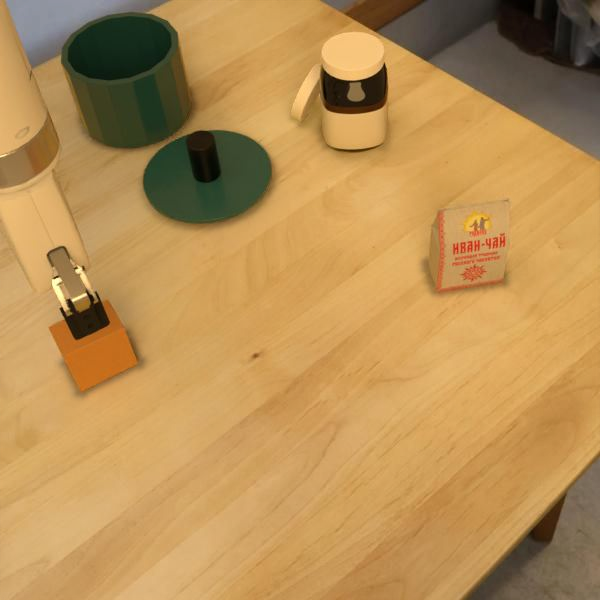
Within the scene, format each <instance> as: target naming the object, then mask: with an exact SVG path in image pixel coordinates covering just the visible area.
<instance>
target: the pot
mask: <svg viewBox="0 0 600 600" xmlns="http://www.w3.org/2000/svg"><path fill="white" fill-rule="evenodd" d="M179 37H180V36H179V33H178V31H177V30H176V28H175V27H174V26H173V25H172V24H171V22H169V20H167V19H165V18H163V17H160V16H157V15H155V14H153V13H148V12H147V13H146V12H136V11H127V12H119V13H113V14H107V15H103V16H101V17H99V18H96V19H93V20H91V21H88V22H86V23H85V24H83V25H82V26H81V27H79V28H78V29H76V30H75V31H74V32H72V33H71V34H70V35H69V36H68V38H67V39H66V41H65V42H64V44H63V45H62V47H61V51H60V52H61V55H60V64H61V68H62V70H63V72H64V76H65V79H66V82H67V84H68V87H69V90H70V93H71V96H72V98H73V101H74V105H75V107H76V111H77V113H78V115H79V119H80V121H81V123H82V125H83V127H84V129H85V132H87V134H88V135H89V137H91V138H92V139H93V140H94V141H96V142H98V143H99V144H101V145H105V146H108V147H112V148H117V149H136V148H143V147H147V146H152V145H154V144H156V143H160V142H162V141H164V140H166V139H168V138H169V137H171V136H173V135H174V134H176V133H177V132H178V131H179V130H180V129H181V128H182V127H183V126H184V125H185V124H186V122H187V121H188V119H189V117H190V115H191V111H192V109H193V108H192V107H193V105H192V104H193V102H192V97H191V90H190V85H189V81H188V75H187V70H186V65H185V61H184V57H183V52H182V47H181V41H180V38H179Z"/></svg>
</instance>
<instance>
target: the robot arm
mask: <svg viewBox="0 0 600 600" xmlns="http://www.w3.org/2000/svg"><path fill="white" fill-rule="evenodd" d="M58 135H59V134H58V132H57V129H56V127H55V125H54V121H53V119H52V116H51V114H50V112H49V109H48V107H47V104H46V103H45V100H44V97H43V95H42V92H41V89H40V86H39V85H38V81H37V79H36V76H35V74H34V72H33V69H32V66H31V64H30V61H29V59H28V56H27V54H26V51H25V48H24V46H23V43H22V40H21V37H20V35H19V33H18V30H17V28H16V24H15V22H14V20H13V17H12V14H11V11H10V9H9V7H8V4H7V2H6V0H0V231H1V232H2V234H3V236H4V238H5V240H6V242H7V244H8V246H9V248H10V250H11V251H12V254H13V256H14V257H15V260H16V261H17V263H18V265H19V267H20V268H21V271H22V272H23V274H24V276H25V278H26V280H27V283H28V284H29V286H30V287H31V289H32V291H33V292H34V293H38V294H43V293H45V292H48V291H50V290H51V289H52V290H53V292H54V293H55V295H56V297H57V299H58V302H59V304H60V305H61V307H59V311H60V314H61V315H62V317H63V320H64V319H65V321H66V323H67V325H68V327H69V329H70V331H71V333H72V335H73V337H74V339H75V340H79V339H82V338H84V337H86V336H88V335H90V334H93V333H95V332H97V331H98V330H100V329H103V328H105V327H107V326H108V325H109V324H110V321H109V319H108V316H107V314H106V311H105V309H104V307H103V304H102V302H103V301H102V300H101V297H100V295H99V293H98V291H97V290H95V289H94V288H93V286H92V284H91V282H90V280H89V278H88V275H87V274H86V273H88V272H89V270H90V267H91V261H90V258H89V256H88V253H87V250H86V246H85V244H84V242H83V239H82V236H81V233H80V231H79V227H78V225H77V223H76V221H75V217H74V215H73V212H72V209H71V207H70V204H69V202H68V200H67V196H66V195H65V192H64V189H63V188H62V185H61V182H60V180H59V177H58V175H57V173H56V171H55V168H56V166H57V164H58V162H59V161H60V158H61V156H62V143H61V140H60V137H59V136H58ZM72 263H73V264H74V265H75V267H74V266H73V264H72ZM53 268H54V269H55V271H56V273H57V275H55V276H54V269H53ZM61 284H63V287H64V289H65V291H66V292H67V295H68V297H69V298H66V296H65V294H64V292H63V290H62V288H61V287H60V285H61Z"/></svg>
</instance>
